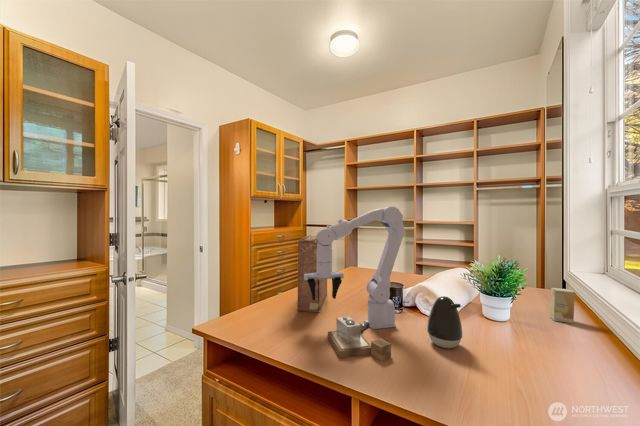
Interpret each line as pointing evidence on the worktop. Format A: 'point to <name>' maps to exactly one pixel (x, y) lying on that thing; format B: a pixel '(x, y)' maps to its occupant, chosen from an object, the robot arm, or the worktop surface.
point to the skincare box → (562, 305)
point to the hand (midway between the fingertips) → (323, 298)
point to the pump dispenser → (445, 323)
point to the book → (306, 266)
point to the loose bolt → (364, 325)
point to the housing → (348, 329)
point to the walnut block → (381, 349)
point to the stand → (349, 346)
